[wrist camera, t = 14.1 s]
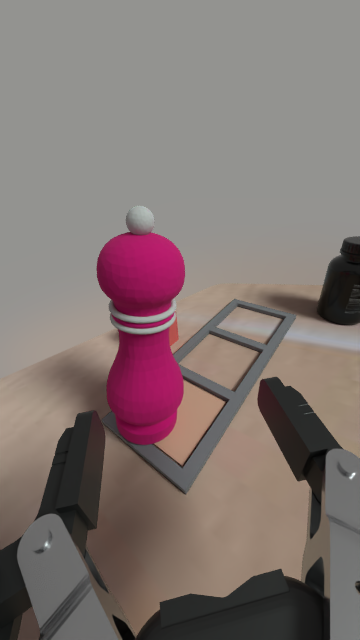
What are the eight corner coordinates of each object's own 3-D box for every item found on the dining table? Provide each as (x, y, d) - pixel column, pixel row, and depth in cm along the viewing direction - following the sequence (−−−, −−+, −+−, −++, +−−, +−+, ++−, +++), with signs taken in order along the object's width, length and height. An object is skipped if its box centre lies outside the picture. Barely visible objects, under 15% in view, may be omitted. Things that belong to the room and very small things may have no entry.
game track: (185, 494, 19) (185, 491, 19) (102, 423, 25) (101, 419, 25) (295, 318, 39) (296, 315, 38) (234, 301, 45) (234, 298, 44)
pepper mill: (104, 402, 26) (69, 199, 15) (164, 382, 29) (169, 200, 18) (122, 464, 20) (85, 215, 10) (194, 432, 23) (223, 214, 13)
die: (156, 357, 33) (151, 325, 30) (132, 345, 36) (125, 314, 33) (178, 339, 36) (175, 307, 33) (154, 329, 39) (150, 299, 36)
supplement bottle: (365, 310, 39) (396, 236, 33) (363, 331, 35) (399, 250, 28) (319, 300, 43) (339, 232, 36) (312, 319, 38) (333, 244, 32)
